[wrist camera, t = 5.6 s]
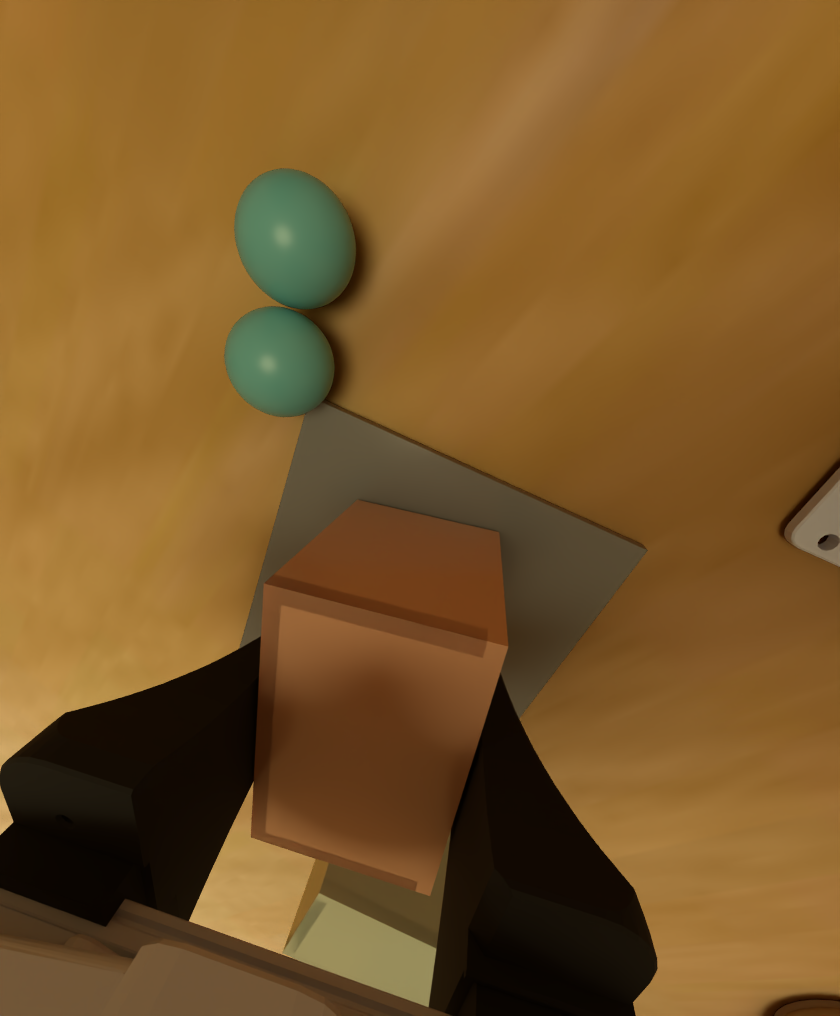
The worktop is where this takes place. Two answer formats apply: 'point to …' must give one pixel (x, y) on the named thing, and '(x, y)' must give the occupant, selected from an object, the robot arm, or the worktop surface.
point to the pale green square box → (369, 929)
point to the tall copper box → (376, 689)
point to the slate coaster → (463, 499)
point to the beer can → (810, 1008)
